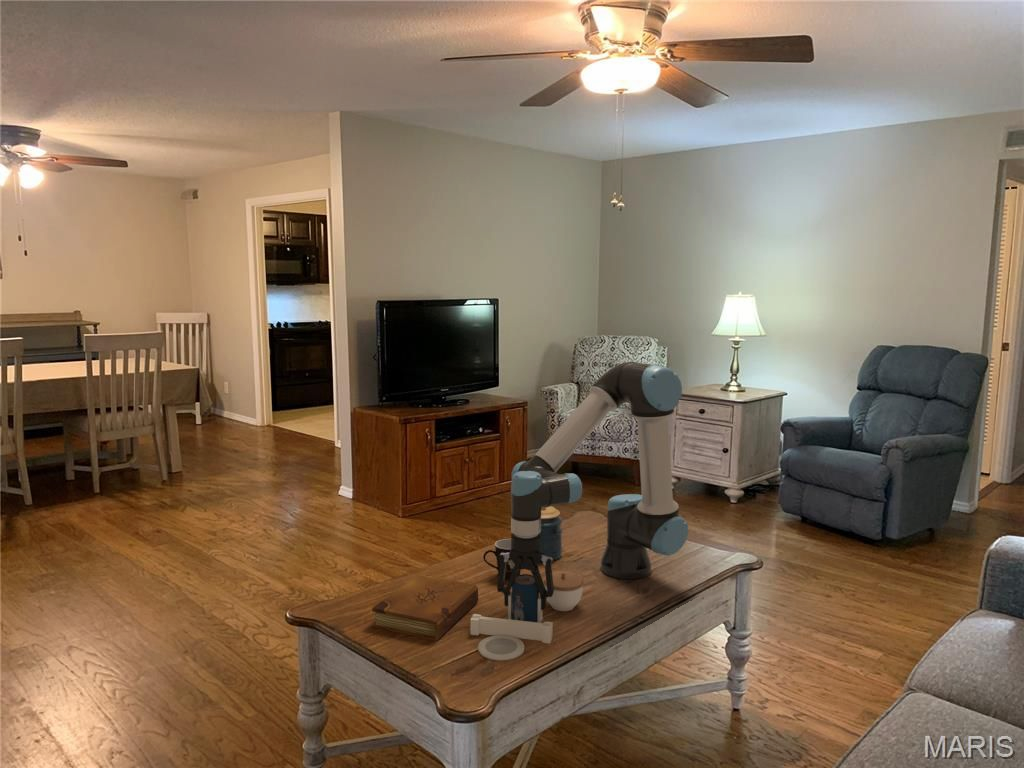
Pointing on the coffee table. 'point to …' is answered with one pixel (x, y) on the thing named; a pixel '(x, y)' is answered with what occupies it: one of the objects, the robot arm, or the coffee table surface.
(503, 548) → the coffee mug
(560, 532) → the canister
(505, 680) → the coffee table surface
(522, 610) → the soda can
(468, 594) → the diary
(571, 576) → the lidded jar
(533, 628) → the divider
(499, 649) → the coaster
